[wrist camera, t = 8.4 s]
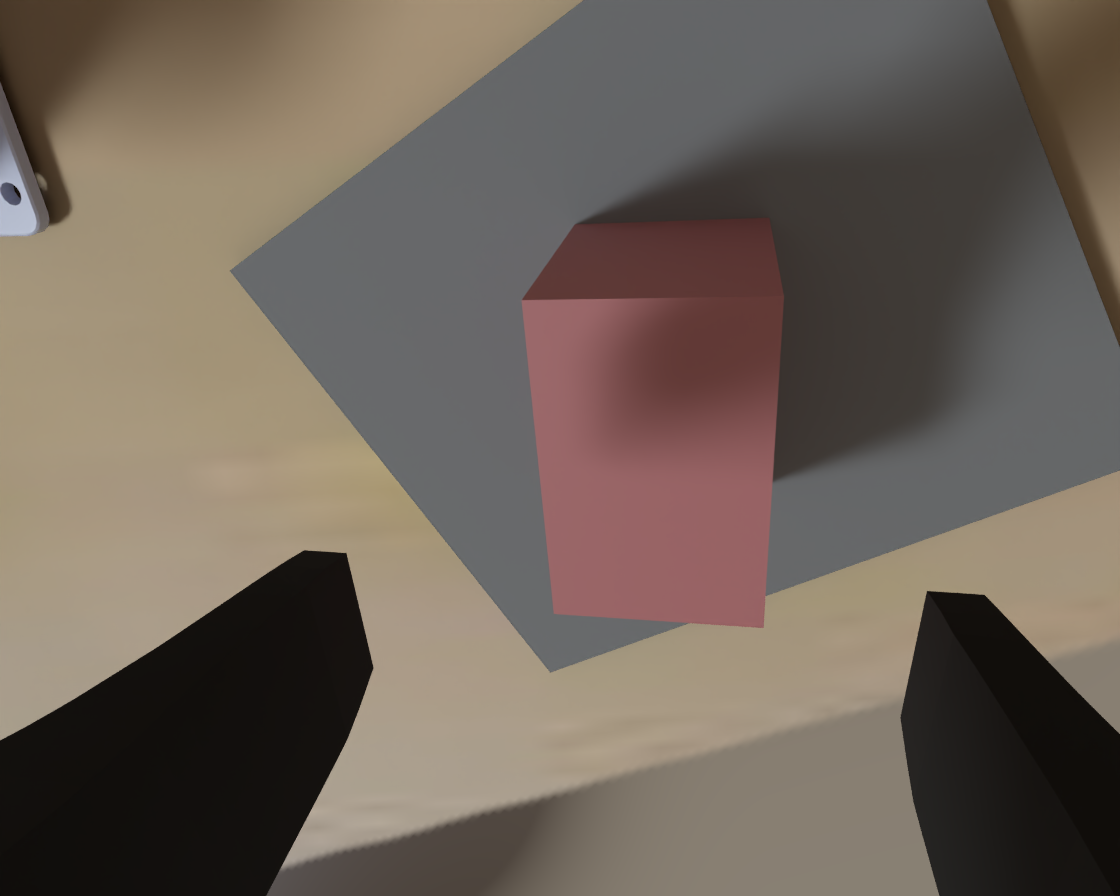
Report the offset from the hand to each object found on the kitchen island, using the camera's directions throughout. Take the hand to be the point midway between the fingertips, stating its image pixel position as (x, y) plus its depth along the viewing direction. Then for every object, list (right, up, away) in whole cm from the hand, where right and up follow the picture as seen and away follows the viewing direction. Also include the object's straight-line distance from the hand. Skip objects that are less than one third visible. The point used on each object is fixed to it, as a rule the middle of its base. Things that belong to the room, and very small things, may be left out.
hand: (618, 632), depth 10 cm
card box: (+2, +4, +8) cm, 9 cm away
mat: (+2, +5, +8) cm, 10 cm away
